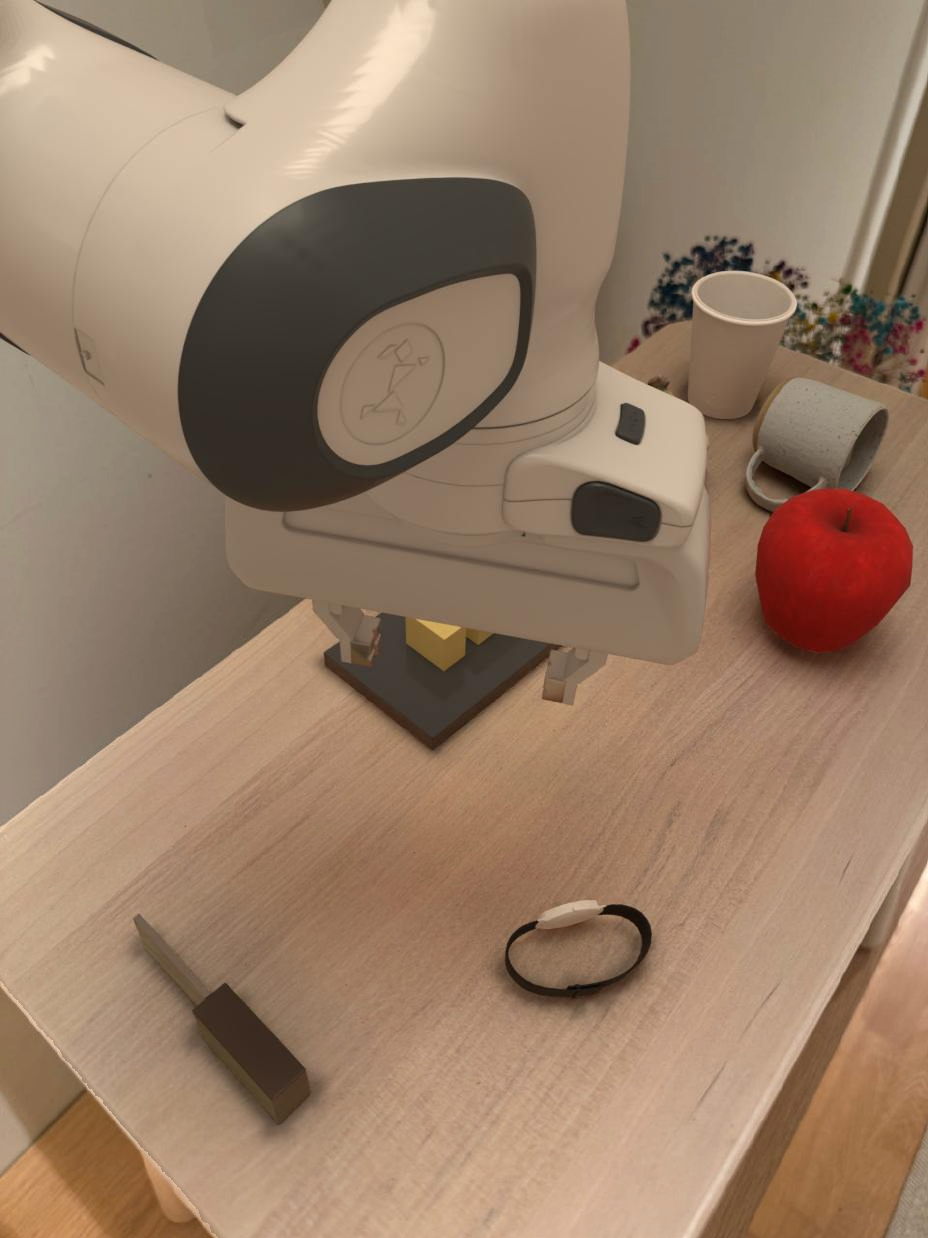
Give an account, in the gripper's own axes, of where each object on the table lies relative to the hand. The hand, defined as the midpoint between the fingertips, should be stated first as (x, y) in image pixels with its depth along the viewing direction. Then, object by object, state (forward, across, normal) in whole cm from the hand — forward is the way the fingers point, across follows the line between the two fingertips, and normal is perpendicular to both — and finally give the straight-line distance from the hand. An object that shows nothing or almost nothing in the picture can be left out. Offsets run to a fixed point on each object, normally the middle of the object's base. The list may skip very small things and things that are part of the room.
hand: (459, 673), depth 49 cm
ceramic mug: (+15, +19, +40) cm, 46 cm away
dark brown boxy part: (+15, -9, -12) cm, 22 cm away
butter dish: (+15, -2, +17) cm, 23 cm away
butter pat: (+14, -4, +14) cm, 20 cm away
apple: (+15, +20, +23) cm, 34 cm away
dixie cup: (+15, +12, +49) cm, 53 cm away
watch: (+15, +8, -5) cm, 18 cm away
